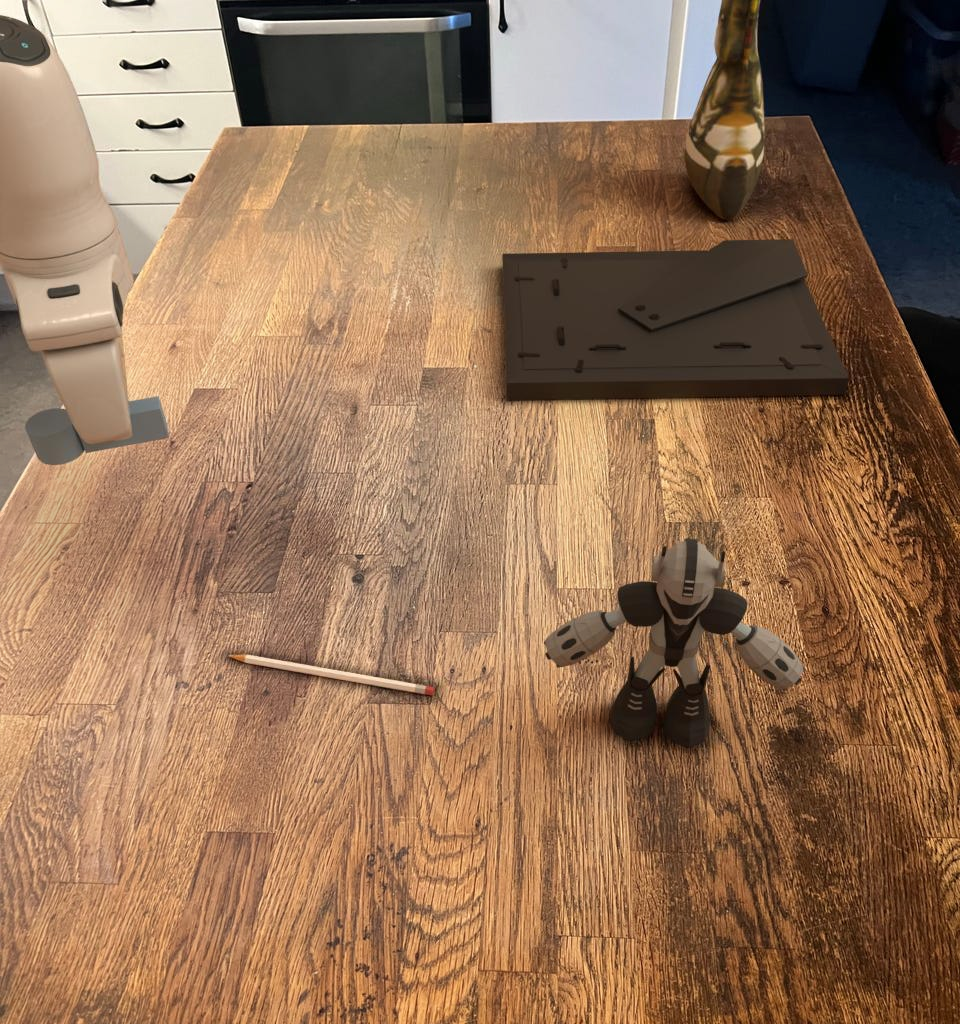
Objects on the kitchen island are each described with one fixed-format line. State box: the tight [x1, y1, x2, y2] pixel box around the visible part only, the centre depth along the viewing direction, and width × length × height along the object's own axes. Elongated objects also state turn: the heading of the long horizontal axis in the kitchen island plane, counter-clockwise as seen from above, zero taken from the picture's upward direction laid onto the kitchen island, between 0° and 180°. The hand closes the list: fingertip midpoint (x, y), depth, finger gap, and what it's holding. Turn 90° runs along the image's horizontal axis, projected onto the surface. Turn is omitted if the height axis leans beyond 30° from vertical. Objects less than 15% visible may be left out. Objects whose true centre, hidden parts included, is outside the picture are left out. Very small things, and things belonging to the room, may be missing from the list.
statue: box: [684, 0, 766, 221], centre depth 135 cm, size 16×11×35 cm, turn 3°
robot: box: [543, 537, 804, 749], centre depth 74 cm, size 20×5×20 cm, turn 81°
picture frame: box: [501, 238, 850, 401], centre depth 122 cm, size 31×4×38 cm
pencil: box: [228, 654, 435, 697], centre depth 85 cm, size 1×19×1 cm, turn 77°
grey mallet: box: [24, 395, 170, 466], centre depth 84 cm, size 11×4×3 cm, turn 106°
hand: (121, 423), depth 85 cm, fingers closed on grey mallet, 2 cm apart
